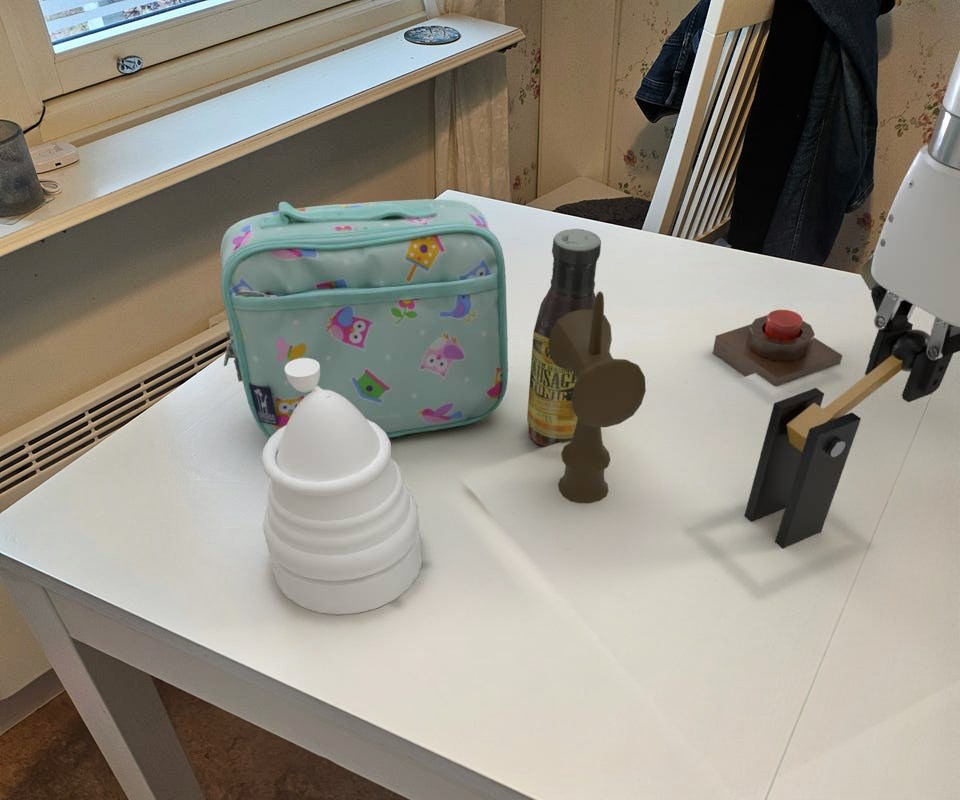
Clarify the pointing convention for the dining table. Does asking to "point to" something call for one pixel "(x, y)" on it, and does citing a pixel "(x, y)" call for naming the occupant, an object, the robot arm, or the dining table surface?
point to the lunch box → (370, 310)
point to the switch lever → (861, 386)
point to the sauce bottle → (566, 294)
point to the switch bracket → (800, 469)
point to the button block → (774, 353)
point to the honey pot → (337, 505)
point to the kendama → (592, 397)
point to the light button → (783, 325)
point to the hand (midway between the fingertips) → (899, 382)
